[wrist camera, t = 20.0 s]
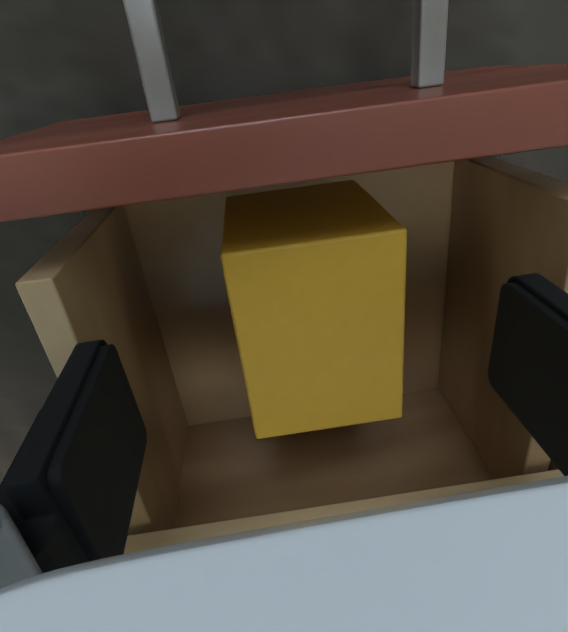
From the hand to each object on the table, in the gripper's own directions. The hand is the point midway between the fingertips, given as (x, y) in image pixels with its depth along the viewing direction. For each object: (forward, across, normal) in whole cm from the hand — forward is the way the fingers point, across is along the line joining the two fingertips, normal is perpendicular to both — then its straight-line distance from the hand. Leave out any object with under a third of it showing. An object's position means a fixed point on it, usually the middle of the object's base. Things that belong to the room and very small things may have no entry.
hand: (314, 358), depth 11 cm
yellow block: (+7, 0, +1) cm, 7 cm away
